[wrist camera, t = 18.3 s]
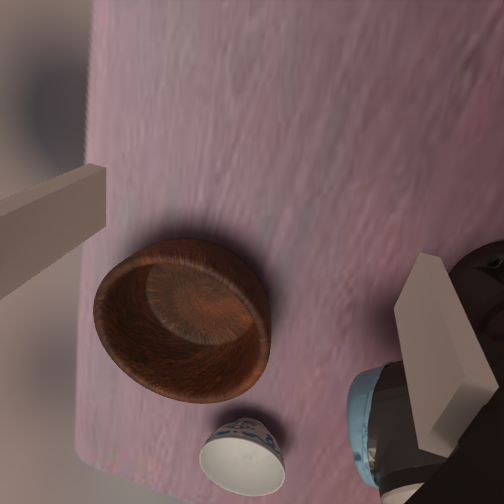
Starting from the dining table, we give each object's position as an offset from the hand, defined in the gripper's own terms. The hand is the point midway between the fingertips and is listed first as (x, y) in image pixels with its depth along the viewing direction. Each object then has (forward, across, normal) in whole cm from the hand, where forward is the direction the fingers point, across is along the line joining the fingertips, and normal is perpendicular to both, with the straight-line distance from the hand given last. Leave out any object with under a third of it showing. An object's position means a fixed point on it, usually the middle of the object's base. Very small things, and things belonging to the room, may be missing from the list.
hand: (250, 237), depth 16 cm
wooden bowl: (+34, -10, -30) cm, 46 cm away
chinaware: (+34, +3, -56) cm, 66 cm away
